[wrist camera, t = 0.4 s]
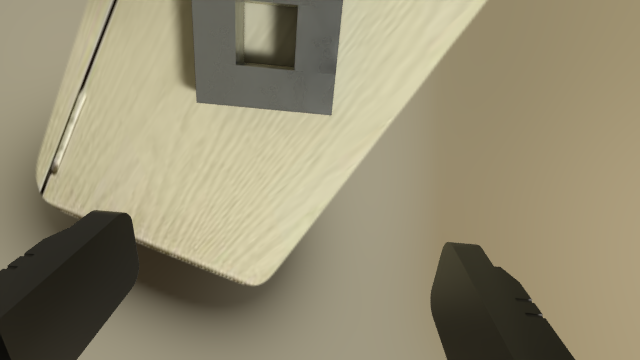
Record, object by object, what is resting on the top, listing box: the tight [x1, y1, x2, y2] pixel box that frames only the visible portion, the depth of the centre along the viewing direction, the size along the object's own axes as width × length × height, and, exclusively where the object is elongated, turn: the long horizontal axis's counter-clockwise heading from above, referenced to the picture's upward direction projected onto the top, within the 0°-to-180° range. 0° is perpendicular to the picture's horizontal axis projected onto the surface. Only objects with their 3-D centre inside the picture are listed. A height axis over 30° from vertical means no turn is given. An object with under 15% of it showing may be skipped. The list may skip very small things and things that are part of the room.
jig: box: [192, 0, 343, 115], centre depth 30 cm, size 12×12×3 cm
